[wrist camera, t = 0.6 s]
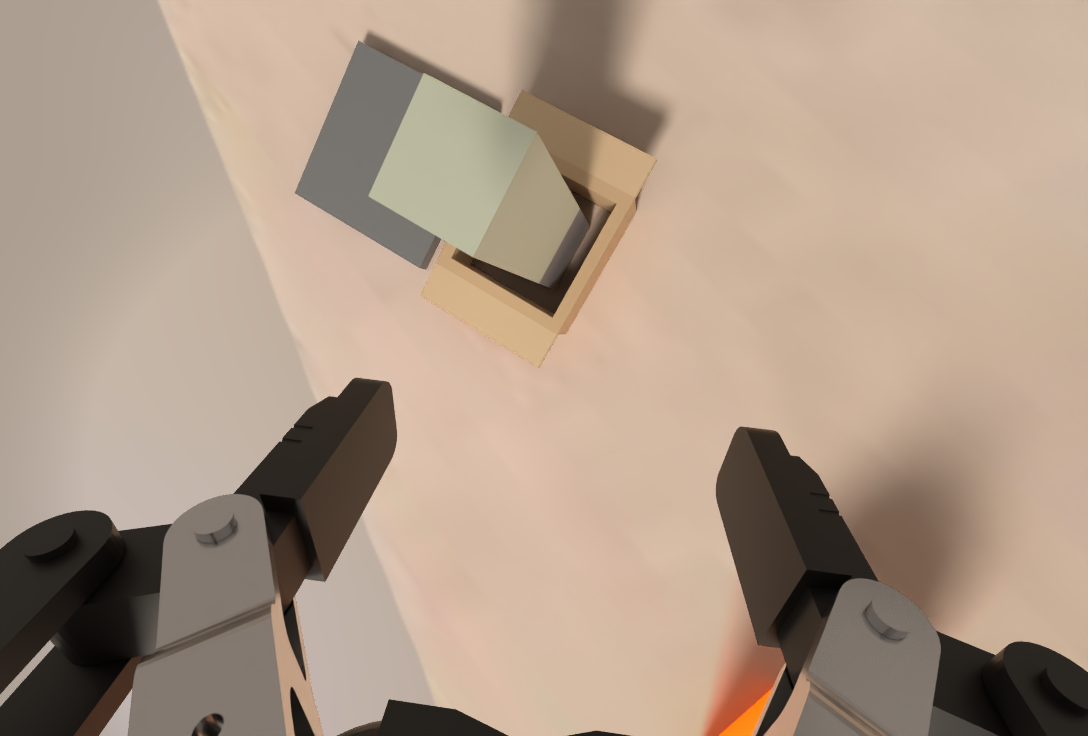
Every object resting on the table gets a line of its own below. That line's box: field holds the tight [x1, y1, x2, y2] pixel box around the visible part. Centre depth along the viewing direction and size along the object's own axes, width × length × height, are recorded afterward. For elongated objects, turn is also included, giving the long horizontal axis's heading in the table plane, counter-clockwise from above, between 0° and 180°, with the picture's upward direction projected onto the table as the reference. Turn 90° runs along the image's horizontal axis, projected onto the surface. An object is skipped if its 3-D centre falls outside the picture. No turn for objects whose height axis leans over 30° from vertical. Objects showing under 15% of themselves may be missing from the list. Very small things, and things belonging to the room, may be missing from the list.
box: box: [369, 73, 590, 290], centre depth 25 cm, size 5×5×16 cm
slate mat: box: [295, 41, 441, 269], centre depth 34 cm, size 12×12×1 cm
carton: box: [420, 90, 657, 368], centre depth 31 cm, size 15×10×4 cm, turn 151°
